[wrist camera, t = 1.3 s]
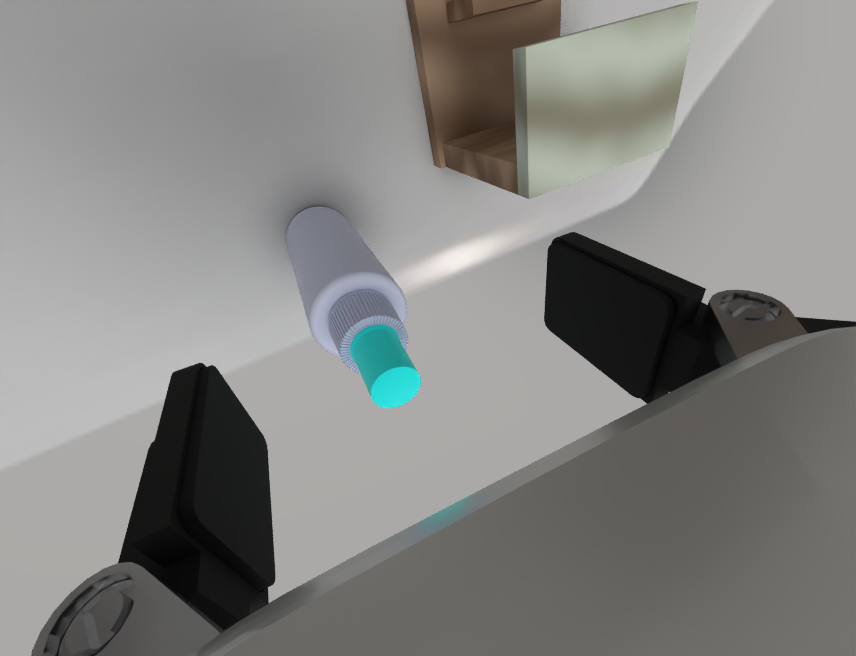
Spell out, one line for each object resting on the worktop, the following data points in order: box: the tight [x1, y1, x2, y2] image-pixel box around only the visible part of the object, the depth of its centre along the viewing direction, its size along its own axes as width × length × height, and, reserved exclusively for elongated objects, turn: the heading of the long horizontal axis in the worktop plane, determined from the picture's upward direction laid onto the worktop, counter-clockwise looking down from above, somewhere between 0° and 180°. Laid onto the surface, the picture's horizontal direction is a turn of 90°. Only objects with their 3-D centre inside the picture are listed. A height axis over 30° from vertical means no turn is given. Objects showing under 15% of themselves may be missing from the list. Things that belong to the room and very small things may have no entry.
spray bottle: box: [286, 207, 421, 408], centre depth 25 cm, size 6×6×22 cm
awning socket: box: [406, 0, 698, 199], centre depth 25 cm, size 18×13×14 cm
